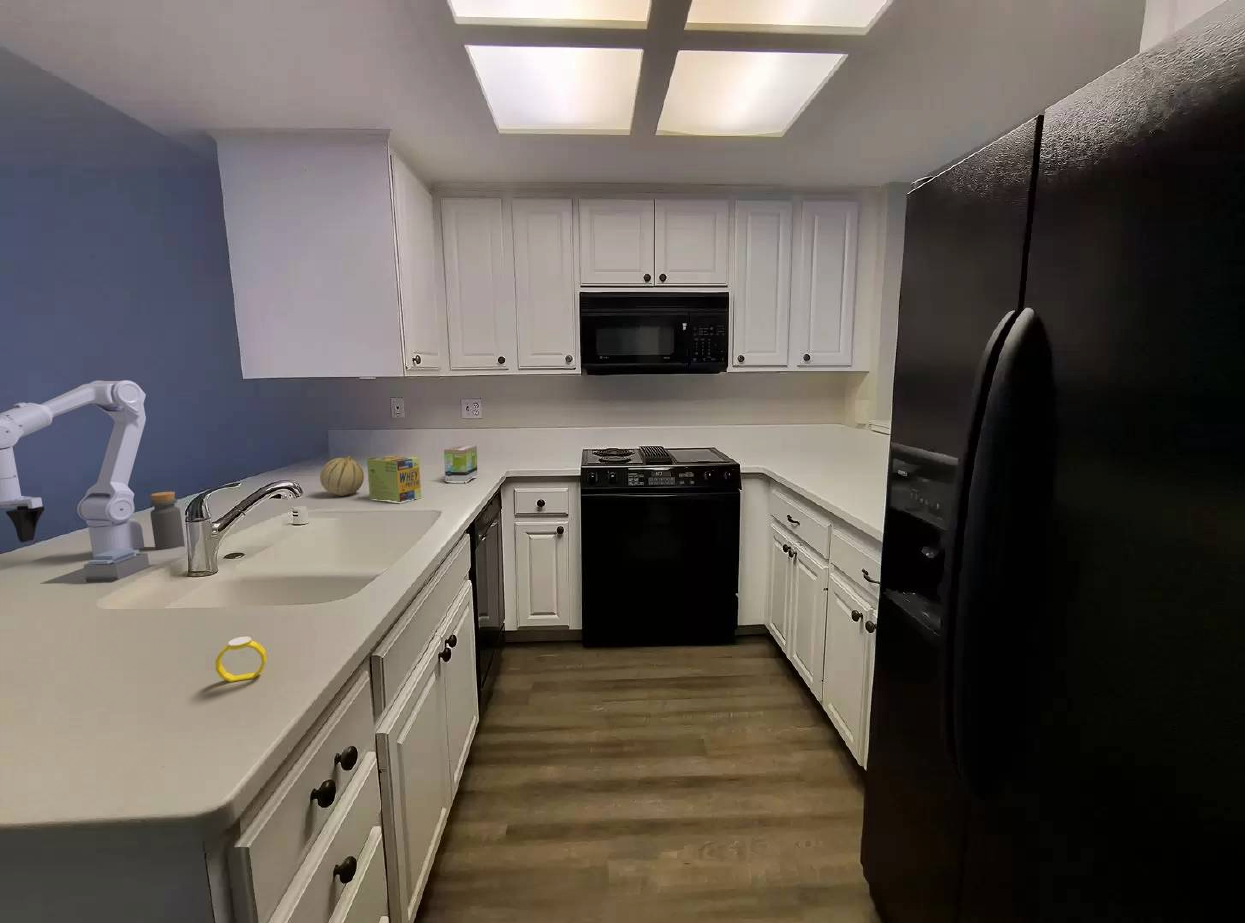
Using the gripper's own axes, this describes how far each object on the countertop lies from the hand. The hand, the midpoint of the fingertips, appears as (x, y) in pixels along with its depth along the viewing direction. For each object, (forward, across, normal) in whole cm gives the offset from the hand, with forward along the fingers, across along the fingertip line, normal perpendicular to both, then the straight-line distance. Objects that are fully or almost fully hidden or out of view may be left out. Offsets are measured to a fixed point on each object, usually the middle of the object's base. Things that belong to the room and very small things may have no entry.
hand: (8, 541), depth 112 cm
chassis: (+10, +14, +4) cm, 18 cm away
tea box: (+10, +62, +119) cm, 135 cm away
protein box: (+10, +48, +82) cm, 96 cm away
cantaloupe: (+10, +25, +90) cm, 94 cm away
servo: (+9, +18, +4) cm, 20 cm away
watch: (+10, +74, -38) cm, 84 cm away
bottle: (+10, +13, +24) cm, 29 cm away
